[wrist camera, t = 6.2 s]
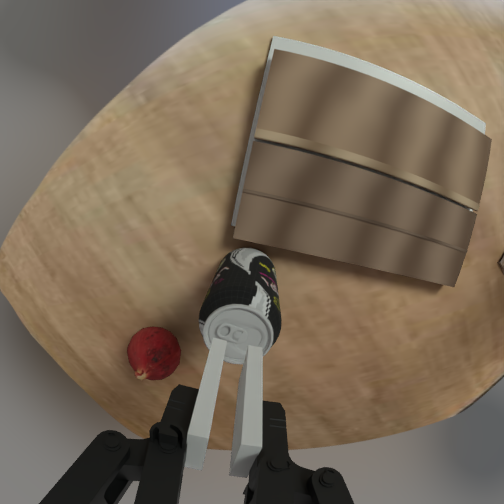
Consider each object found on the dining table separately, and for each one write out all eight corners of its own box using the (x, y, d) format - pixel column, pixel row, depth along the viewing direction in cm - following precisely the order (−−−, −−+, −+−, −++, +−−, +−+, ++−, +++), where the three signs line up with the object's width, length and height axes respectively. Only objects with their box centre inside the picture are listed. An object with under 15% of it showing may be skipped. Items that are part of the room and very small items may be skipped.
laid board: (469, 211, 26) (477, 214, 24) (447, 282, 28) (454, 287, 27) (253, 142, 25) (253, 140, 24) (234, 234, 28) (232, 238, 26)
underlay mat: (484, 123, 23) (485, 123, 23) (451, 276, 28) (452, 277, 28) (273, 37, 22) (273, 35, 22) (231, 224, 28) (230, 225, 27)
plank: (484, 139, 23) (491, 139, 21) (470, 208, 26) (477, 211, 24) (273, 53, 22) (274, 48, 21) (254, 138, 25) (254, 137, 24)
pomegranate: (163, 305, 30) (137, 344, 23) (197, 341, 32) (181, 386, 24) (132, 328, 32) (104, 367, 24) (164, 361, 33) (144, 404, 25)
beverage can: (234, 235, 28) (215, 281, 16) (285, 262, 29) (300, 322, 17) (210, 283, 29) (180, 349, 18) (258, 307, 30) (256, 382, 19)
